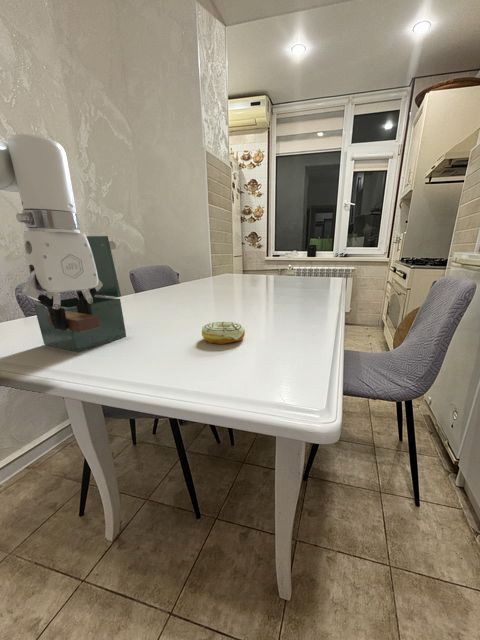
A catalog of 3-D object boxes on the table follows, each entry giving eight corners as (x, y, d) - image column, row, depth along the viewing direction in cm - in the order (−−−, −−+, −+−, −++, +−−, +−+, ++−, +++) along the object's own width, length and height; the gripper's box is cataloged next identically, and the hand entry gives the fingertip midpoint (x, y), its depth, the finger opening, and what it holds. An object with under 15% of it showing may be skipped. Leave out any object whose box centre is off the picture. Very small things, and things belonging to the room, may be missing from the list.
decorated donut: (246, 345, 69) (245, 329, 68) (200, 346, 68) (199, 331, 67) (244, 332, 79) (243, 318, 78) (204, 333, 78) (203, 319, 77)
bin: (78, 352, 64) (68, 308, 61) (44, 344, 69) (33, 303, 65) (126, 336, 75) (120, 298, 72) (94, 330, 80) (87, 295, 77)
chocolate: (48, 326, 56) (45, 314, 55) (70, 321, 60) (68, 310, 59) (79, 332, 53) (77, 320, 52) (100, 327, 57) (98, 315, 56)
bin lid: (104, 236, 66) (123, 235, 70) (69, 236, 70) (89, 235, 75) (118, 297, 71) (135, 292, 76) (85, 293, 76) (103, 289, 80)
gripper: (9, 219, 41) (39, 340, 48) (110, 226, 56) (124, 319, 62) (-19, 219, 44) (13, 334, 51) (84, 226, 59) (99, 315, 65)
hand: (74, 324), depth 56 cm, fingers closed on chocolate, 4 cm apart
